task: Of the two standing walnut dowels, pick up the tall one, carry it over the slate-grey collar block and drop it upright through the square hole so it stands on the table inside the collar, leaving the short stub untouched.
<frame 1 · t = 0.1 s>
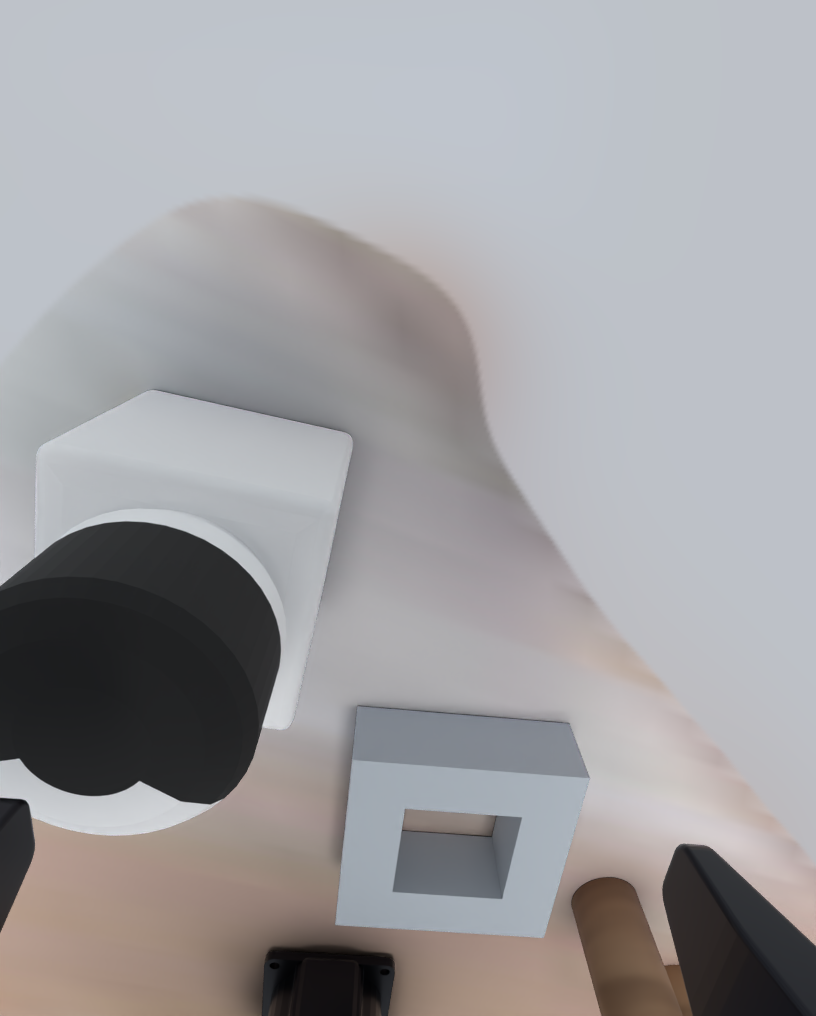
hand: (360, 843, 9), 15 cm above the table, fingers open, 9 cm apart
long dowel: (604, 900, 30), on the table
collar block: (449, 795, 28), on the table
short stub: (669, 984, 33), on the table
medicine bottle: (240, 502, 23), on the table
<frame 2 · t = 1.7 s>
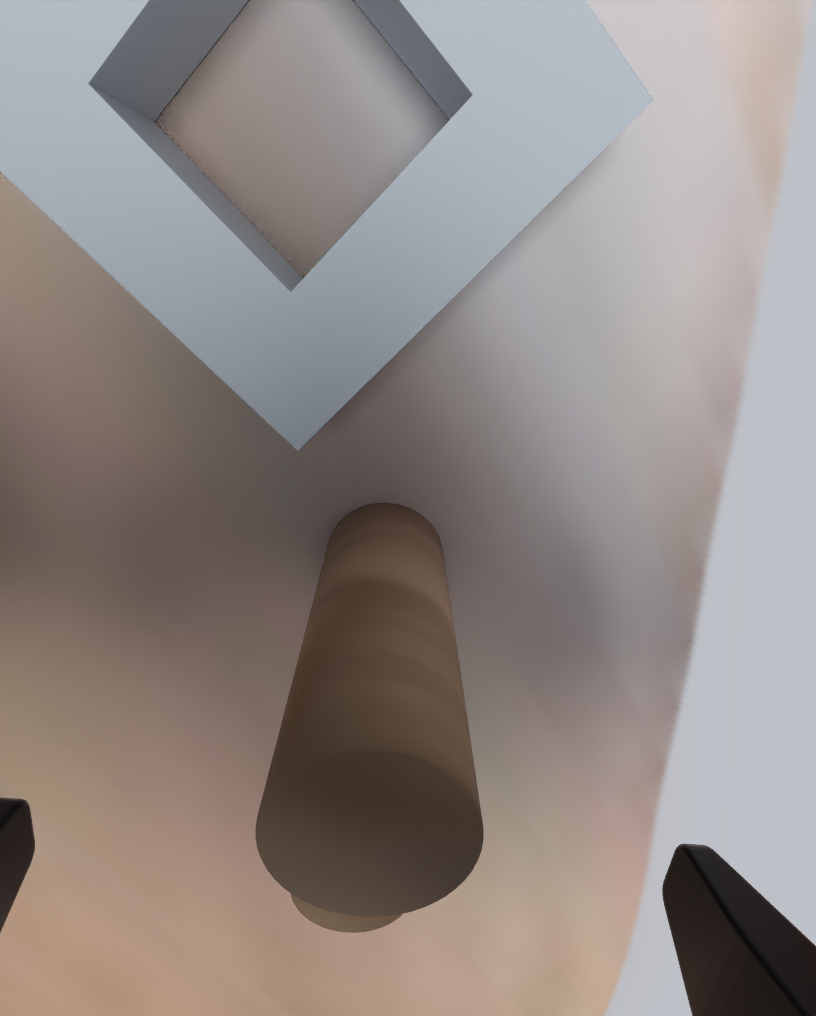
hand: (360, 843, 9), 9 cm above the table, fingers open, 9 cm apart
long dowel: (384, 557, 17), on the table
collar block: (306, 126, 13), on the table
short stub: (360, 774, 20), on the table
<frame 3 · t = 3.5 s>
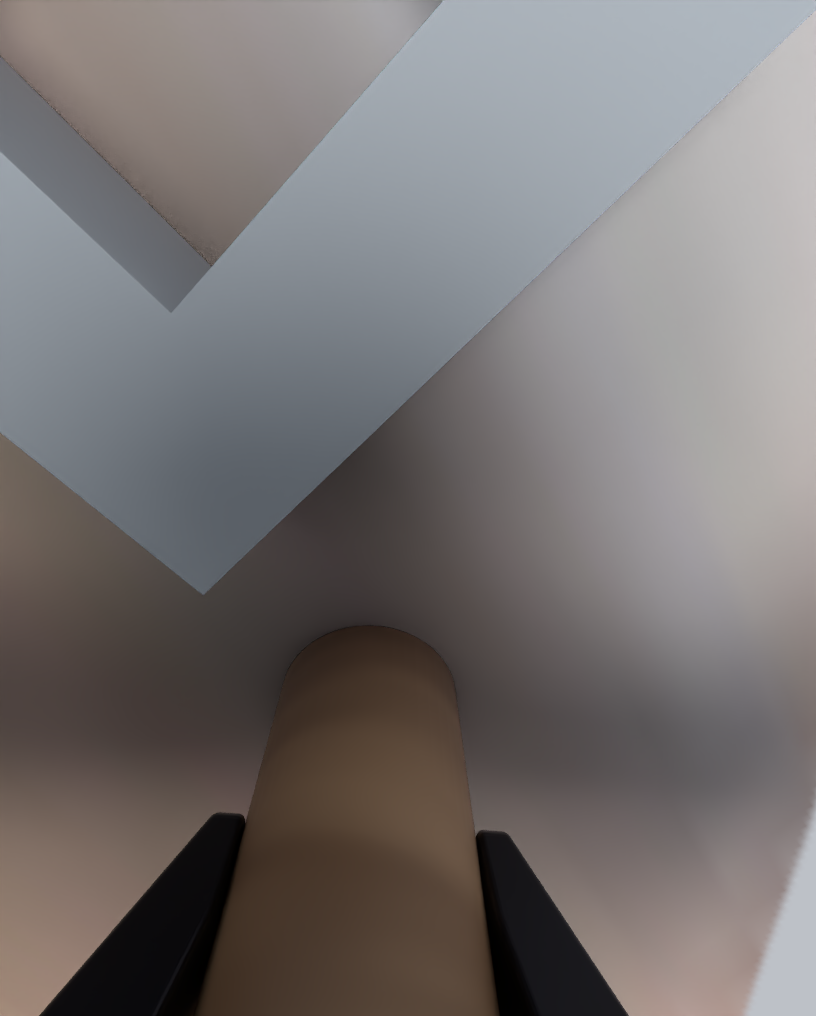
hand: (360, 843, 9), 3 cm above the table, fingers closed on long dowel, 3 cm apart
long dowel: (369, 700, 11), on the table, touching gripper
collar block: (222, 17, 8), on the table
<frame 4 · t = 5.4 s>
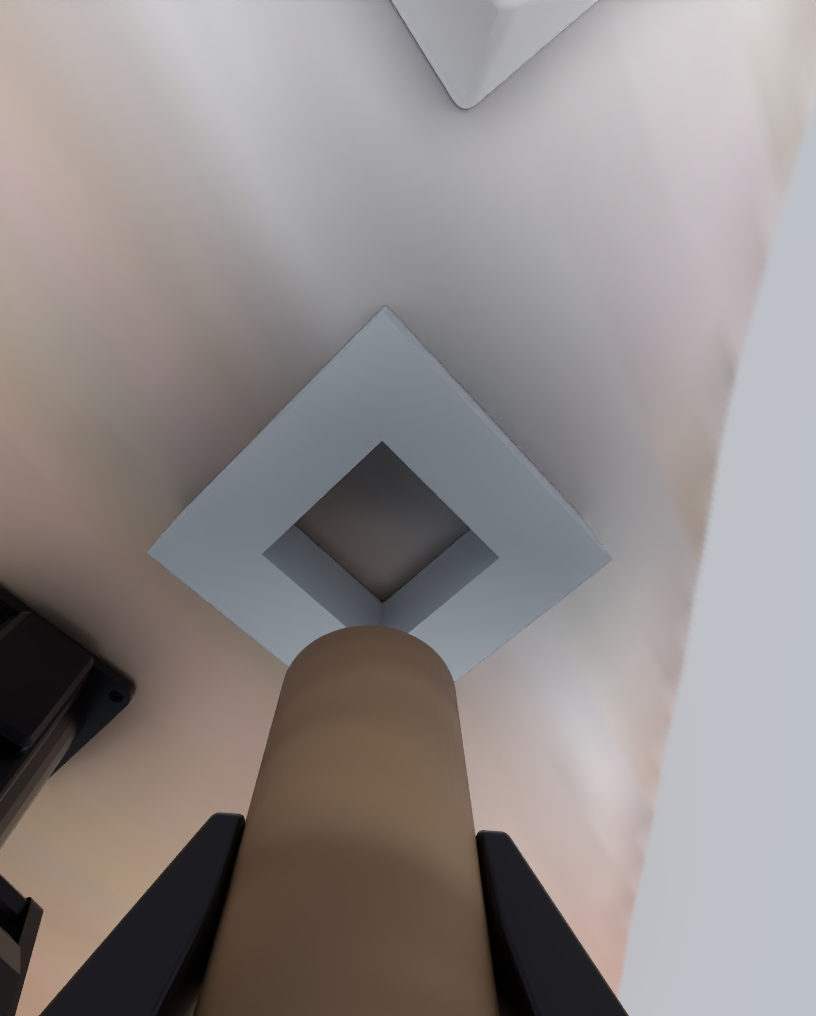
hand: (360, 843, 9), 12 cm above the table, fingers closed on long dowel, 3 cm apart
long dowel: (369, 699, 11), point 9 cm above the table, touching gripper
collar block: (383, 514, 20), on the table
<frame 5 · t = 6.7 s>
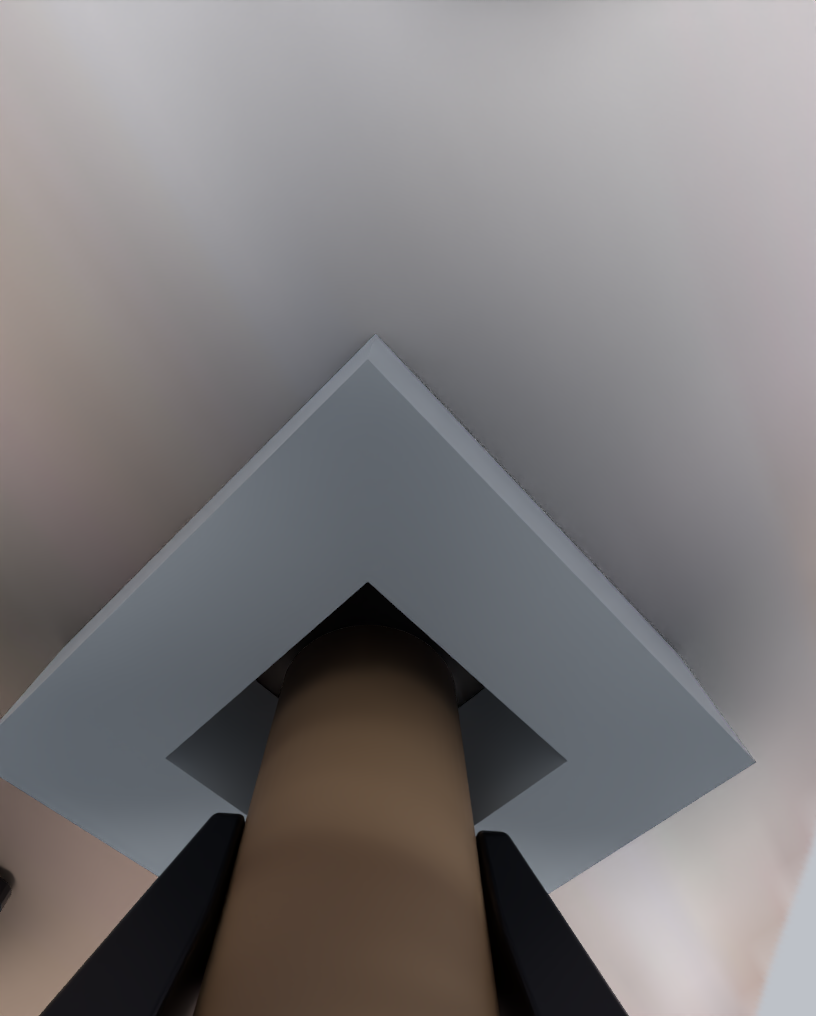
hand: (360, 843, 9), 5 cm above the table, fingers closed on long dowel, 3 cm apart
long dowel: (369, 699, 11), point 2 cm above the table, touching gripper
collar block: (374, 651, 13), on the table
when the fingers open (4 cm above the table, at t = 7.6 s): long dowel drops 1 cm, resting in collar block.
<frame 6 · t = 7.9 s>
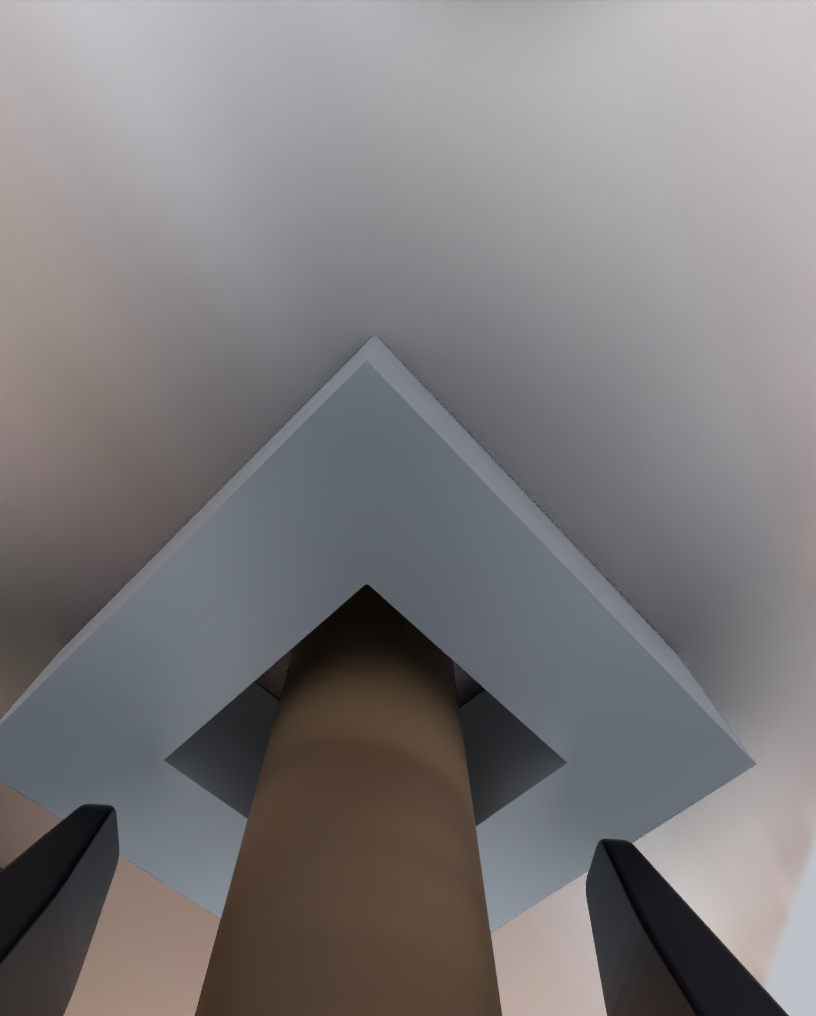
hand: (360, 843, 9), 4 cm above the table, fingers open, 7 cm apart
long dowel: (373, 652, 13), resting in collar block
collar block: (373, 652, 13), on the table
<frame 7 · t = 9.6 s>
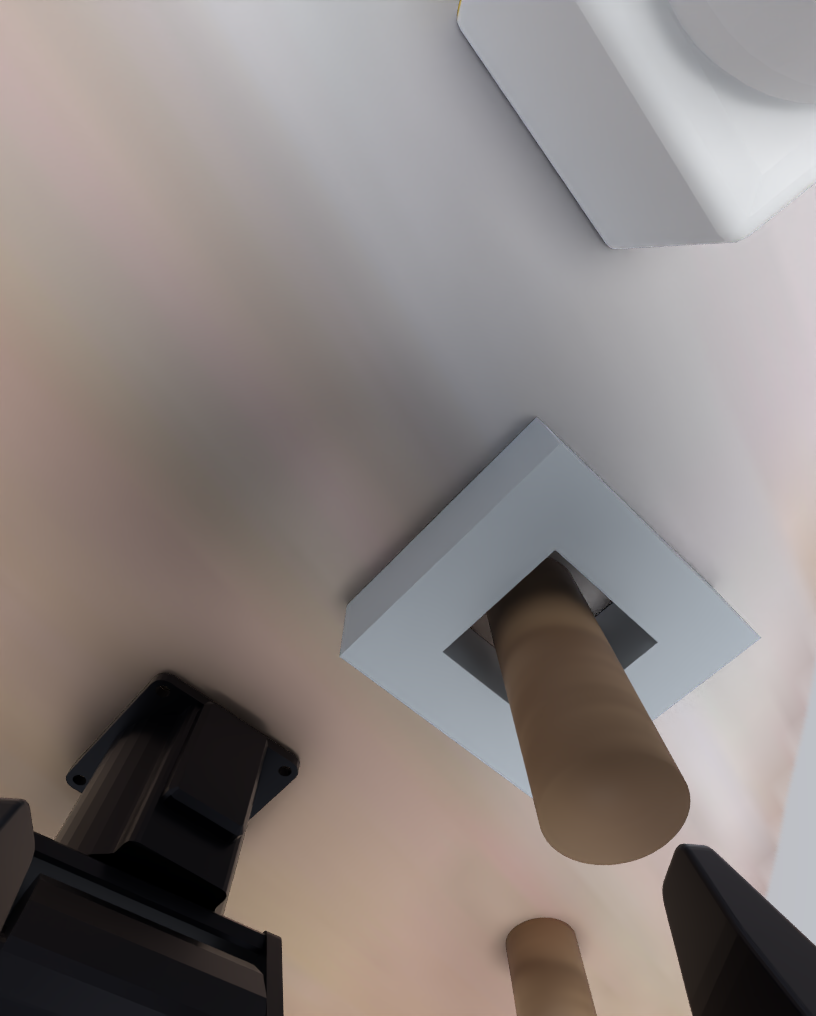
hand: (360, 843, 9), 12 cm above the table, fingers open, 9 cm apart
long dowel: (529, 596, 21), resting in collar block
collar block: (530, 597, 21), on the table
short stub: (540, 941, 28), on the table
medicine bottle: (645, 42, 16), on the table
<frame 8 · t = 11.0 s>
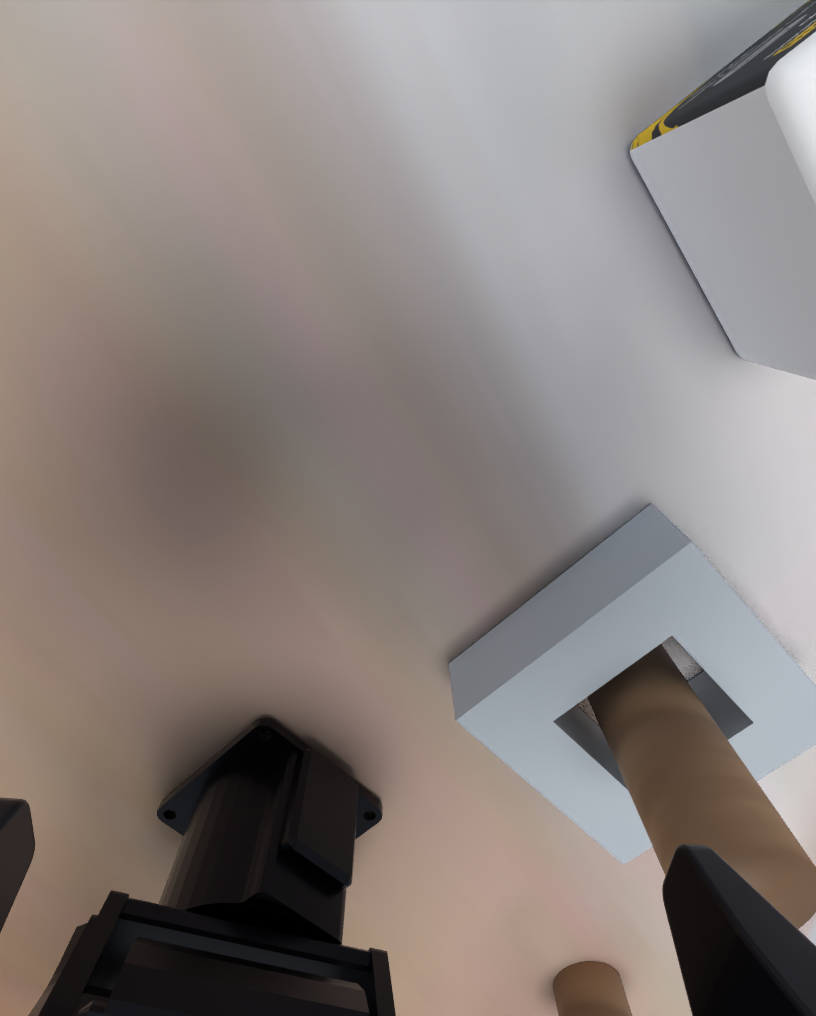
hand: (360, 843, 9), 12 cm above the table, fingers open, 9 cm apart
long dowel: (621, 665, 23), resting in collar block
collar block: (622, 665, 23), on the table
short stub: (586, 983, 29), on the table
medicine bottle: (795, 178, 17), on the table
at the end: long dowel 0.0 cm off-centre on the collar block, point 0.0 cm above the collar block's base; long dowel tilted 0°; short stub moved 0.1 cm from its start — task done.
